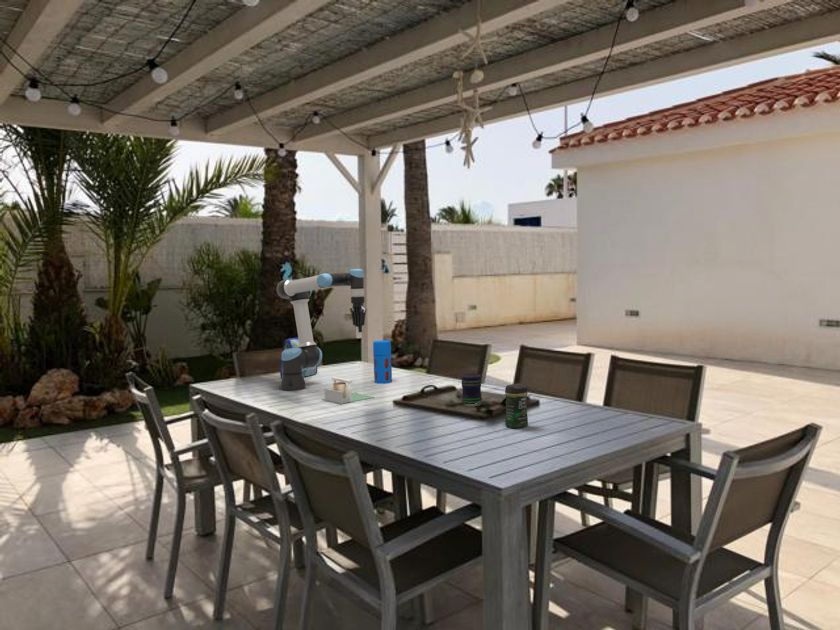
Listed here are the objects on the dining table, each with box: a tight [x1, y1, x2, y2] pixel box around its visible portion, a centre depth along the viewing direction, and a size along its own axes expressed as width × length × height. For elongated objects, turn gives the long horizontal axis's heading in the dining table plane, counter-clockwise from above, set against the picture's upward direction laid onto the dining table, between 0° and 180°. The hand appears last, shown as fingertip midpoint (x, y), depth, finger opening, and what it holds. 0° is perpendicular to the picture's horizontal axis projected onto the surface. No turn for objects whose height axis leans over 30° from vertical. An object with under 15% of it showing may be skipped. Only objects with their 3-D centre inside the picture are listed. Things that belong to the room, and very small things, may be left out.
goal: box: [324, 376, 353, 405], centre depth 356 cm, size 16×7×11 cm, turn 41°
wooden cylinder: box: [332, 381, 348, 399], centre depth 356 cm, size 7×7×9 cm
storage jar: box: [461, 373, 483, 404], centre depth 336 cm, size 10×10×15 cm
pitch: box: [321, 392, 375, 405], centre depth 363 cm, size 18×22×1 cm
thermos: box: [372, 339, 393, 385], centre depth 410 cm, size 11×11×25 cm
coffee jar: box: [504, 382, 529, 429], centre depth 290 cm, size 10×8×19 cm
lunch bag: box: [279, 337, 318, 379], centre depth 439 cm, size 22×17×26 cm
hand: (359, 337), depth 382 cm, fingers closed
